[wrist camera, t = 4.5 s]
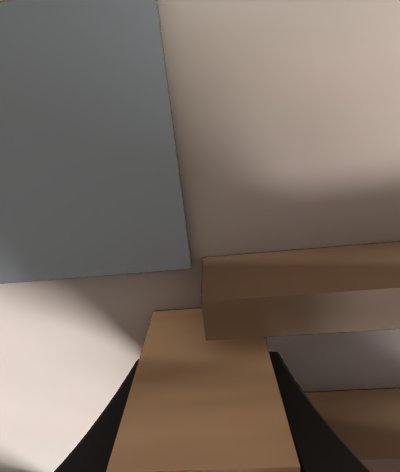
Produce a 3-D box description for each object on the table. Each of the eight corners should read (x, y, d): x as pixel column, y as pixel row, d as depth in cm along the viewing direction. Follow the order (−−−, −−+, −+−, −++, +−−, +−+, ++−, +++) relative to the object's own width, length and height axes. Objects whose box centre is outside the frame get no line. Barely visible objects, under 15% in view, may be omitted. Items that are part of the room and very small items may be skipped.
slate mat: (191, 264, 11) (190, 268, 11) (-16, 280, 12) (-23, 285, 11) (155, -14, 8) (152, -22, 7) (-132, 28, 8) (-148, 24, 8)
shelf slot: (416, 408, 14) (469, 479, 11) (220, 416, 14) (223, 485, 12) (463, 236, 10) (560, 276, 7) (202, 257, 11) (200, 301, 8)
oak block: (257, 380, 13) (294, 563, 8) (167, 384, 14) (140, 563, 8) (255, 304, 12) (300, 466, 6) (153, 311, 12) (105, 472, 6)
